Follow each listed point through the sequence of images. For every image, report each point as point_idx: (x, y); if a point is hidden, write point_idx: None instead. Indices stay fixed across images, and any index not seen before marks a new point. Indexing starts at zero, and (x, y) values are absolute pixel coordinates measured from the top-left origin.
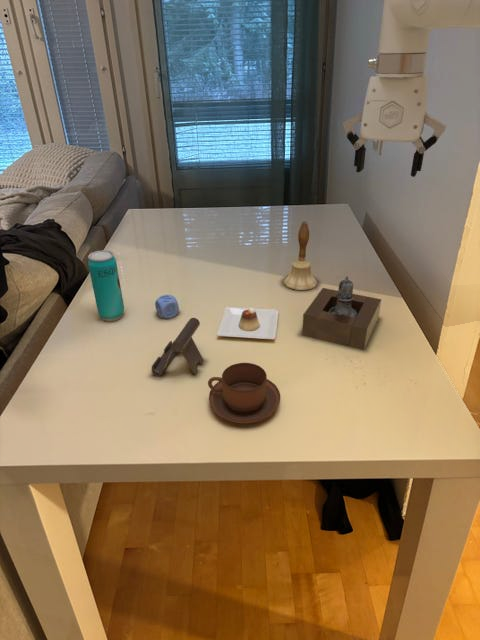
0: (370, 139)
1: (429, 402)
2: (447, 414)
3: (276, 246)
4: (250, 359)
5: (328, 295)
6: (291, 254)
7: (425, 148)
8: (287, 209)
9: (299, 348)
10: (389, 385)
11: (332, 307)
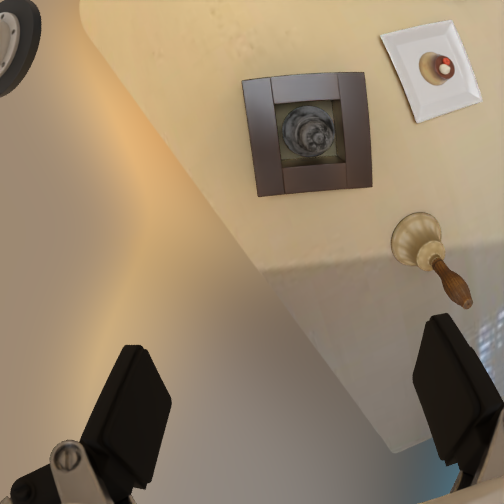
0: (470, 490)
1: (128, 31)
2: (107, 27)
3: (468, 329)
4: None
5: (352, 161)
6: None
7: (56, 464)
8: None
9: (338, 39)
10: (181, 28)
11: (333, 139)
